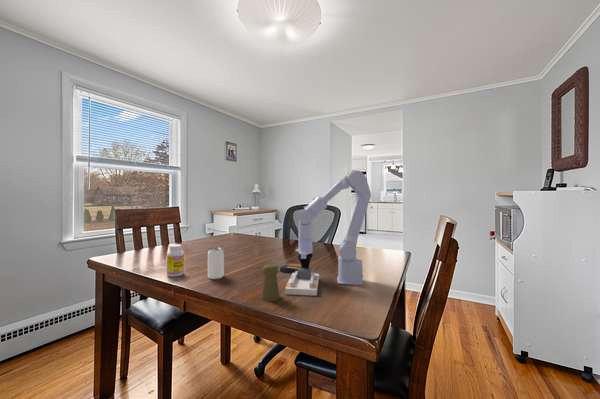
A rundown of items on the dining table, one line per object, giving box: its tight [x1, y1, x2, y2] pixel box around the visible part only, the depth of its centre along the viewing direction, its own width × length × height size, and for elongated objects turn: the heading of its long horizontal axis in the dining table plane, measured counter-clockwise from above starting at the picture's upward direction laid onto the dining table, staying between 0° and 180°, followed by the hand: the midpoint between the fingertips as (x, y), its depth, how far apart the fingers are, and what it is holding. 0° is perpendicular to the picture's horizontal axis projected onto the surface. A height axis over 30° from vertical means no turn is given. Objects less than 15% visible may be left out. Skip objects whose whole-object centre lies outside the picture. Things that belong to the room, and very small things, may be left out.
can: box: [207, 247, 225, 280], centre depth 106 cm, size 6×6×12 cm
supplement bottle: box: [166, 243, 185, 278], centre depth 109 cm, size 7×7×13 cm
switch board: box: [284, 271, 320, 296], centre depth 95 cm, size 11×18×4 cm, turn 173°
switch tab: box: [297, 267, 312, 279], centre depth 99 cm, size 5×4×3 cm
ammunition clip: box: [279, 263, 311, 274], centre depth 117 cm, size 11×2×12 cm
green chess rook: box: [261, 263, 280, 302], centre depth 84 cm, size 6×6×11 cm
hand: (305, 272), depth 103 cm, fingers closed
